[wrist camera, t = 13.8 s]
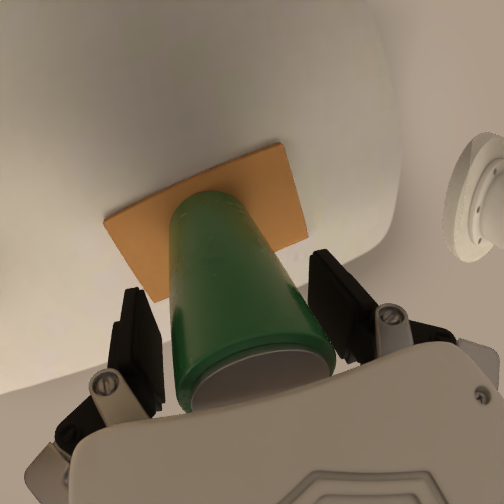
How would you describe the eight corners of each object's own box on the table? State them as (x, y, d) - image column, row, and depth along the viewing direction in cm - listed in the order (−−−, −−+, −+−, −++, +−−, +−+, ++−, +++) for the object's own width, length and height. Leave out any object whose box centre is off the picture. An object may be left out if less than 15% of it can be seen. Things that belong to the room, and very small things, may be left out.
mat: (279, 142, 17) (283, 143, 16) (305, 233, 21) (308, 237, 20) (104, 219, 16) (102, 222, 16) (154, 298, 20) (154, 303, 20)
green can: (246, 183, 17) (353, 317, 7) (253, 256, 20) (329, 409, 10) (161, 199, 16) (152, 365, 6) (178, 271, 19) (199, 443, 9)
